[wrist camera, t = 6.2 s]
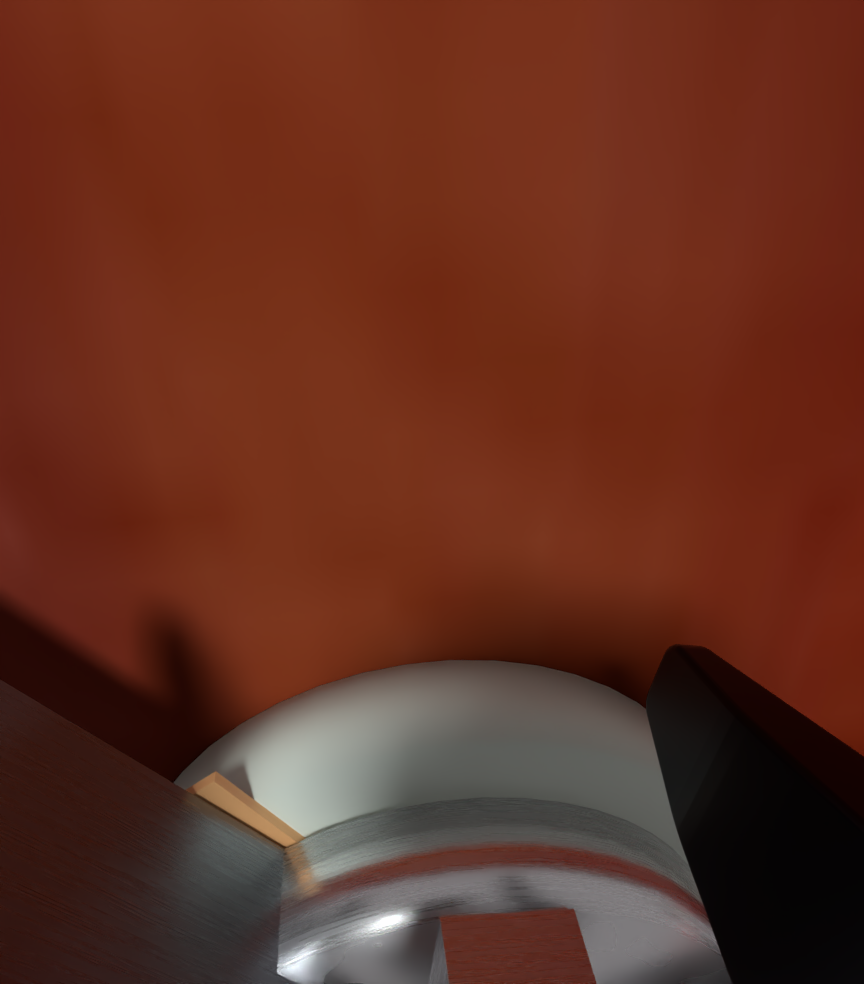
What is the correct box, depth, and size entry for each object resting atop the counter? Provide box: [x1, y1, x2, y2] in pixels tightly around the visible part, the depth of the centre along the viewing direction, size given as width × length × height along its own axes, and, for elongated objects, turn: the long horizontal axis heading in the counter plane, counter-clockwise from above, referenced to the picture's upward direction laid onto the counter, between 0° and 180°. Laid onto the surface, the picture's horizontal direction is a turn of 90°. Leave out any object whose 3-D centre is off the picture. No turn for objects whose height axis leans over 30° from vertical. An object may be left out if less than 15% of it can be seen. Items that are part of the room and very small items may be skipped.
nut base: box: [174, 660, 688, 864], centre depth 16 cm, size 13×13×2 cm
